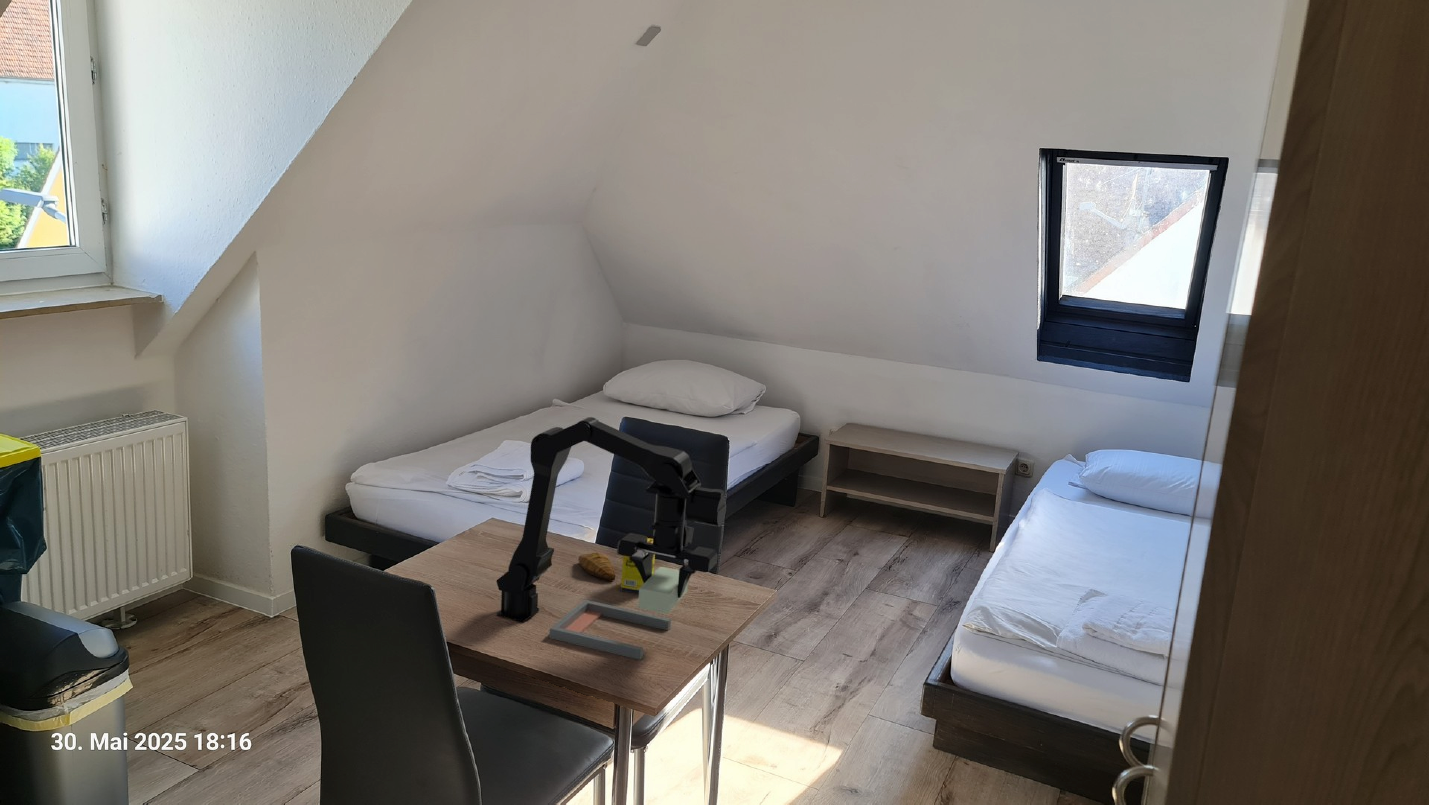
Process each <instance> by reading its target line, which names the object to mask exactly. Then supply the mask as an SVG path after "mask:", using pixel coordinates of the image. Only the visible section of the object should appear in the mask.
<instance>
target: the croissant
mask: <svg viewBox="0 0 1429 805" xmlns="http://www.w3.org/2000/svg"><path fill="white" fill-rule="evenodd" d="M578 562H579V566H580V567H581V568H582V569H583V570H584V571H585V572H586V573H588V574H589V575H591V576H594V577H596V578H598V579H601V580H603V581H609V582H610V581H611V582H612V581H615V580H616V572H615V567H614V566H613V564H612V563H611V561H610V559H609V557H608V556H607V555H605V554H603V553H601V552H596V551H595V552H592V553H584V554H581V555H579V556H578Z"/></svg>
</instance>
